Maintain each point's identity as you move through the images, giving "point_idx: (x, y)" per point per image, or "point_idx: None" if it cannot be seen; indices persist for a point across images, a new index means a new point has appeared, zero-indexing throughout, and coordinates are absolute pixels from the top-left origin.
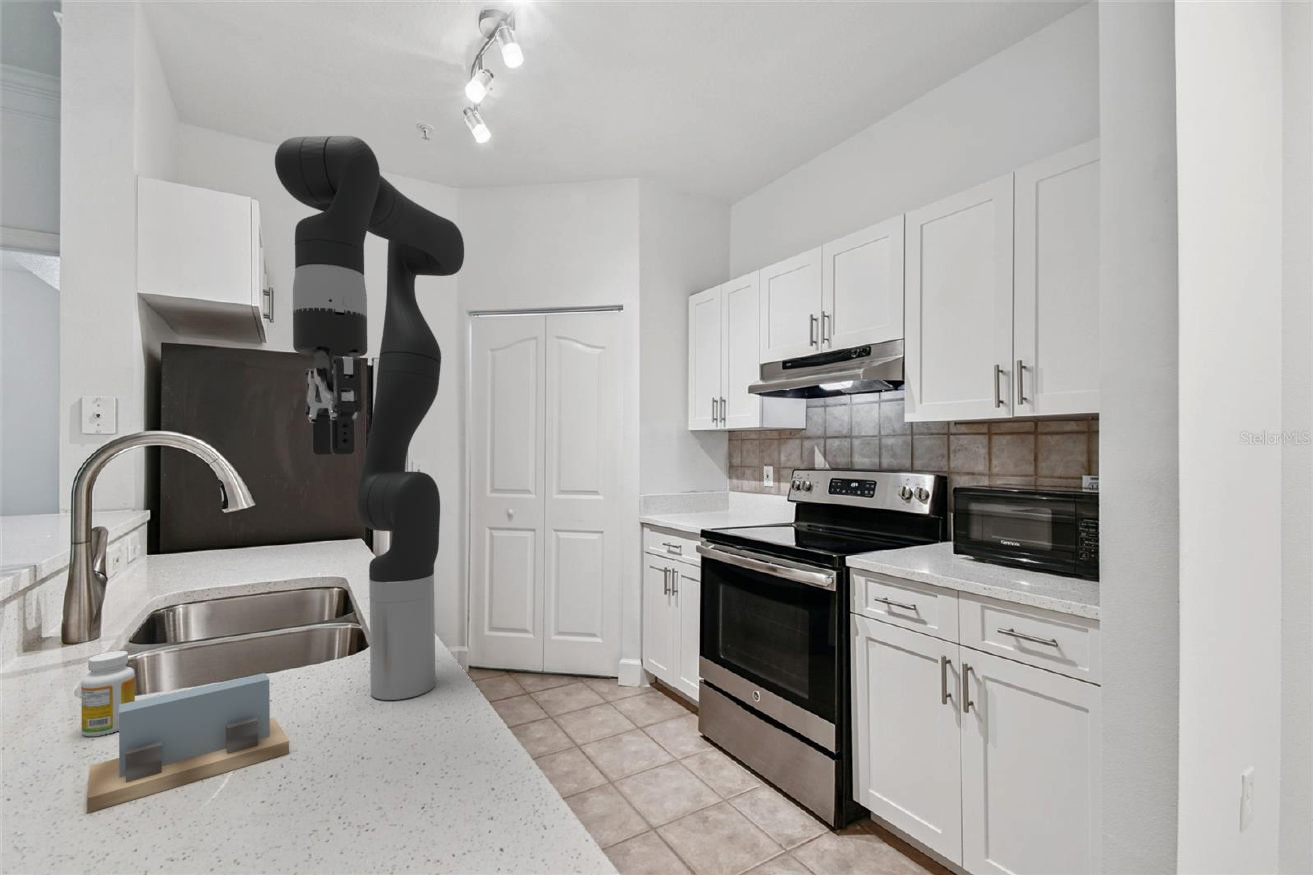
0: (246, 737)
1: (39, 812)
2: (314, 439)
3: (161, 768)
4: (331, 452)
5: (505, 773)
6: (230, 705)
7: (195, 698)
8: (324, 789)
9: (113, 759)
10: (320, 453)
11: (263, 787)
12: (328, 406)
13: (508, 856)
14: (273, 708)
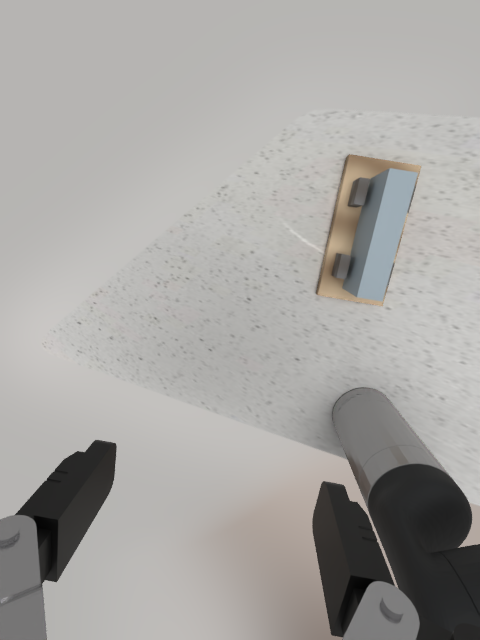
0: (335, 267)
1: (383, 130)
2: (332, 518)
3: (348, 205)
4: (314, 522)
5: (151, 375)
6: (360, 261)
7: (372, 232)
8: (233, 287)
9: (416, 183)
10: (320, 494)
11: (274, 259)
12: (29, 575)
13: (70, 321)
14: (431, 321)
